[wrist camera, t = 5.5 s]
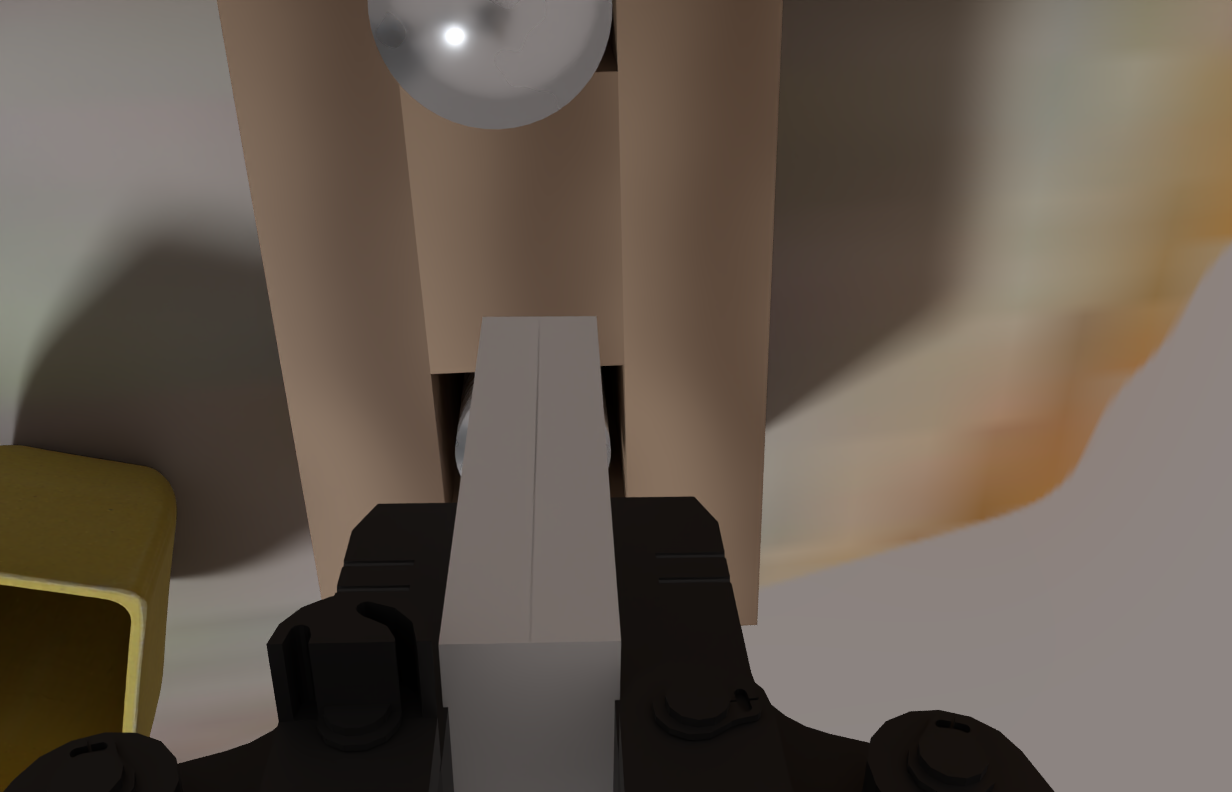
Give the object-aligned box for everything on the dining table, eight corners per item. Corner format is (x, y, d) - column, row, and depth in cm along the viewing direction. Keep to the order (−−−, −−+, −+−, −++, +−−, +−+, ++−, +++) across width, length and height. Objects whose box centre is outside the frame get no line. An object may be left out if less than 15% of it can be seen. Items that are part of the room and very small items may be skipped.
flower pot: (204, 634, 43) (128, 826, 35) (-47, 597, 42) (-183, 788, 34) (226, 432, 39) (146, 595, 32) (-49, 384, 38) (-205, 542, 30)
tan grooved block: (370, 478, 41) (330, 648, 33) (255, -334, 29) (150, -376, 21) (714, 461, 41) (757, 624, 33) (729, -344, 30) (799, -389, 22)
